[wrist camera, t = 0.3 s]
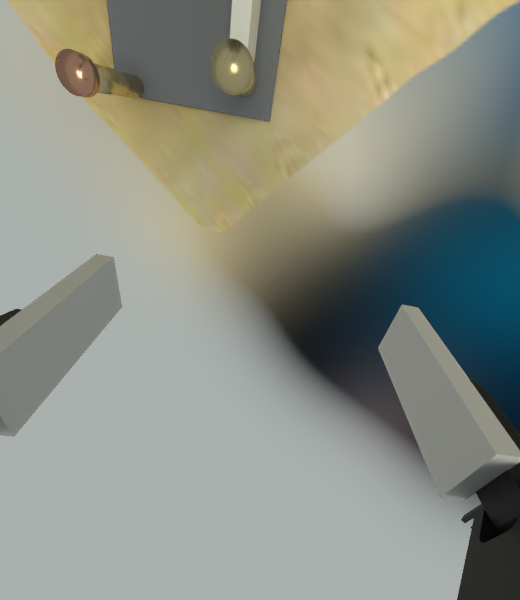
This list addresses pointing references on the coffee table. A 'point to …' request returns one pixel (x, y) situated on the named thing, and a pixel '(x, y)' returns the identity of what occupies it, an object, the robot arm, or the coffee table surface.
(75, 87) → the brass capped rod
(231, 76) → the hinge post
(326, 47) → the coffee table surface
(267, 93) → the mat
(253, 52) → the beige piece
